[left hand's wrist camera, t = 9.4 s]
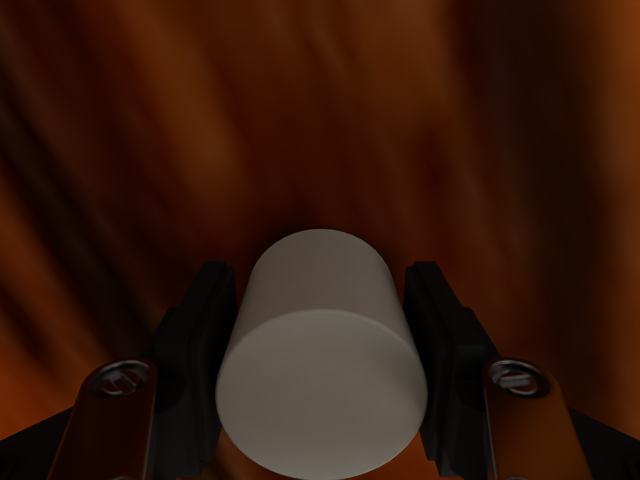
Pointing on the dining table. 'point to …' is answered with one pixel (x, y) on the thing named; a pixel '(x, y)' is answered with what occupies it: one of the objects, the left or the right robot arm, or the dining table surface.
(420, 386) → the canister
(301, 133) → the dining table surface
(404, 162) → the dining table surface
